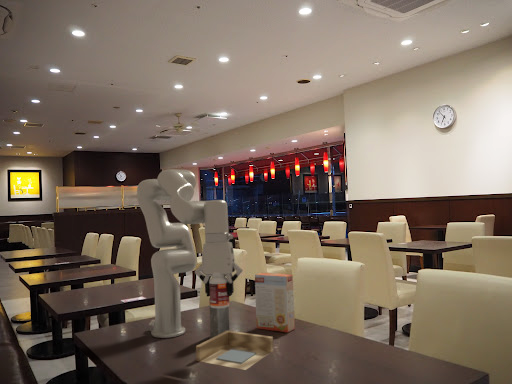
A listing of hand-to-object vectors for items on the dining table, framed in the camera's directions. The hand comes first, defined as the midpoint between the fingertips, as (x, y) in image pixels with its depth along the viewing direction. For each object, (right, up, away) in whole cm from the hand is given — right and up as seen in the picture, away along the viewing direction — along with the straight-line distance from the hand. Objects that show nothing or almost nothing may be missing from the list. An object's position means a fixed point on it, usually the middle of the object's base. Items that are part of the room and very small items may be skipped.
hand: (219, 295), depth 134 cm
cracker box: (+19, -20, +28) cm, 39 cm away
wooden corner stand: (+5, -19, -2) cm, 20 cm away
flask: (-2, -20, +17) cm, 27 cm away
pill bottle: (0, -4, 0) cm, 4 cm away
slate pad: (+5, -19, -3) cm, 20 cm away
